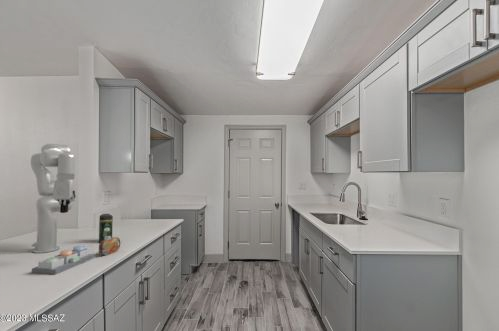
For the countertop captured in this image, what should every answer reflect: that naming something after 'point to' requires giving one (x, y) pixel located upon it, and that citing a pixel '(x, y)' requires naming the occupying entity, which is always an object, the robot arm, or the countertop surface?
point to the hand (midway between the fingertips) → (64, 212)
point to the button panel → (63, 262)
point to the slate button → (78, 248)
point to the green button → (51, 259)
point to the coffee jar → (105, 227)
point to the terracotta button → (66, 253)
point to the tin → (109, 246)
